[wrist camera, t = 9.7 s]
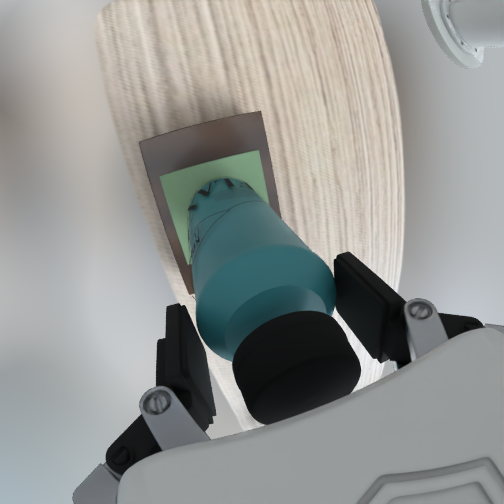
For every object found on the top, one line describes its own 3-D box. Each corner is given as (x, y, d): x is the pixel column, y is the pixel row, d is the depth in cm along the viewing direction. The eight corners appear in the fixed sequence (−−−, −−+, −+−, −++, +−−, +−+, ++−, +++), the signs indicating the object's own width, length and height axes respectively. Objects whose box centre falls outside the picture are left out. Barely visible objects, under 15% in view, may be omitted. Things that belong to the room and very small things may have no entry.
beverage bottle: (250, 165, 24) (419, 281, 6) (262, 232, 27) (382, 406, 9) (178, 182, 23) (165, 364, 5) (196, 249, 26) (233, 460, 8)
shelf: (144, 140, 24) (137, 142, 21) (252, 112, 25) (261, 110, 22) (188, 278, 31) (189, 296, 28) (278, 251, 33) (289, 266, 29)
